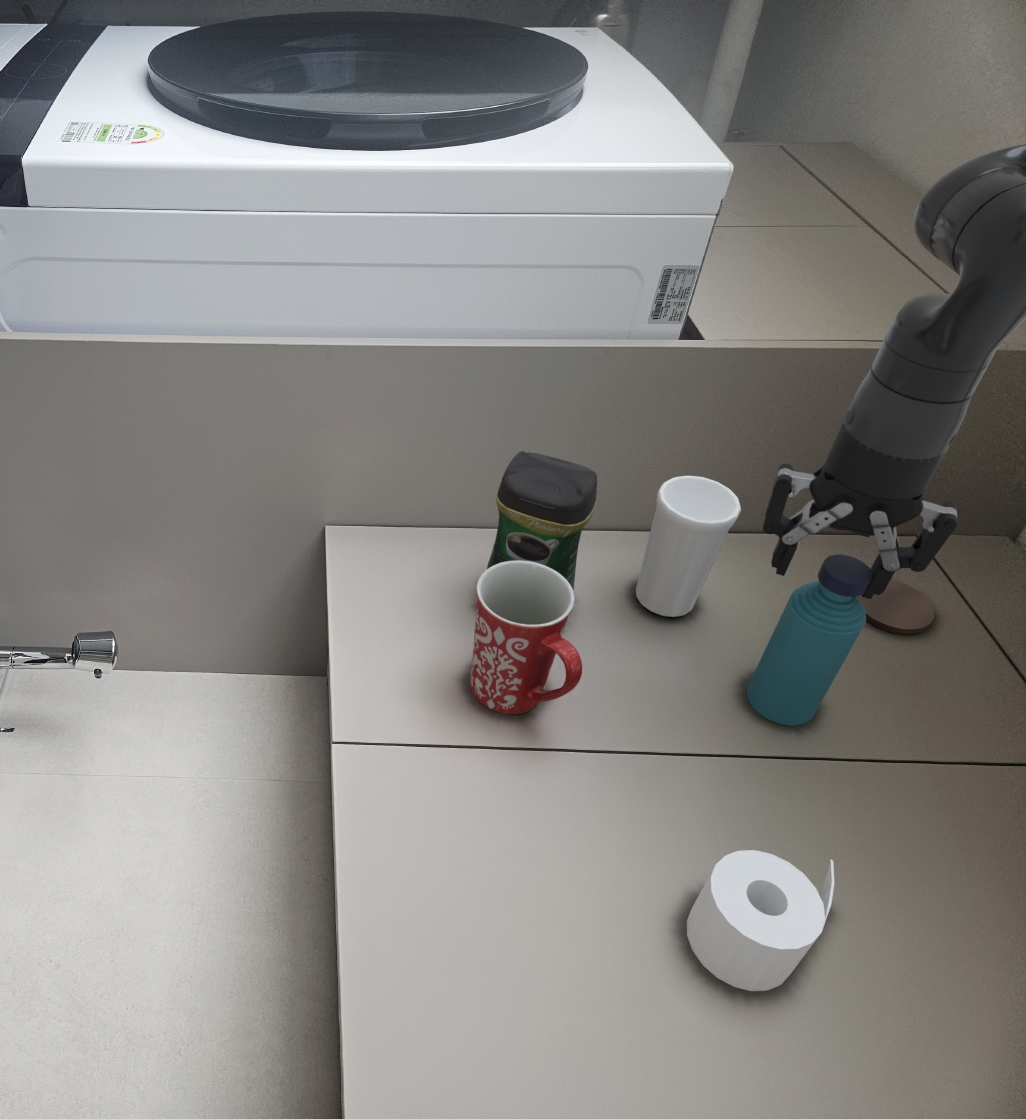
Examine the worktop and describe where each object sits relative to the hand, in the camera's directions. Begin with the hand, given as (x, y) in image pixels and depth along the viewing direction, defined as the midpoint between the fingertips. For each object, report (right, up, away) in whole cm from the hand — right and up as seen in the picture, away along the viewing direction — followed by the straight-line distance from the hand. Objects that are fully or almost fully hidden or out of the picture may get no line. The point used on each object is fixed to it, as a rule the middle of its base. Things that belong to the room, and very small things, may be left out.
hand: (822, 580), depth 88 cm
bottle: (+1, -12, +9) cm, 15 cm away
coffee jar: (-22, -3, +20) cm, 30 cm away
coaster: (+18, -3, +19) cm, 26 cm away
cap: (+1, +1, -3) cm, 3 cm away
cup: (-6, -3, +20) cm, 21 cm away
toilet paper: (-10, -29, -9) cm, 32 cm away
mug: (-26, -12, +10) cm, 30 cm away
